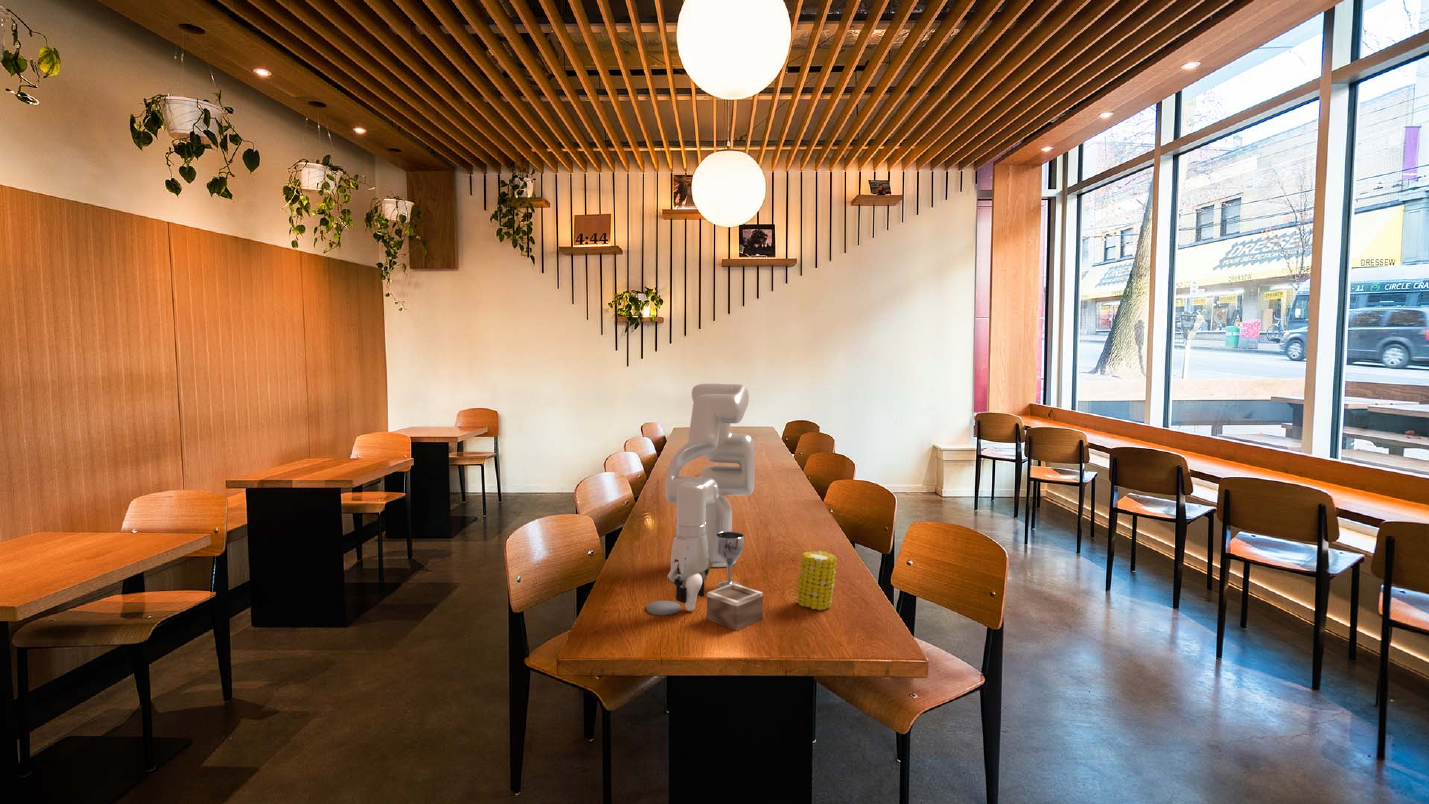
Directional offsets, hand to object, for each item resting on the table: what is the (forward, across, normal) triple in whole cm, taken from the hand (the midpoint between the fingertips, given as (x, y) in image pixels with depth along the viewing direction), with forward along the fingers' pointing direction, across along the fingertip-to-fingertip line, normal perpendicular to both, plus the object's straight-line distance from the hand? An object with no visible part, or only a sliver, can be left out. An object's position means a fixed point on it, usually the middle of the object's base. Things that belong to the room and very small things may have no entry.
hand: (690, 597), depth 174 cm
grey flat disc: (+4, +4, -6) cm, 8 cm away
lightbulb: (+4, 0, 0) cm, 4 cm away
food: (+4, -27, +21) cm, 34 cm away
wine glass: (+4, -22, -6) cm, 23 cm away
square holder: (+4, -4, +12) cm, 13 cm away
